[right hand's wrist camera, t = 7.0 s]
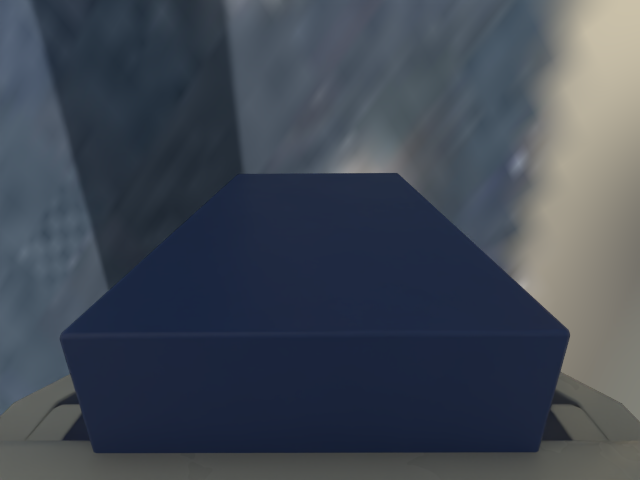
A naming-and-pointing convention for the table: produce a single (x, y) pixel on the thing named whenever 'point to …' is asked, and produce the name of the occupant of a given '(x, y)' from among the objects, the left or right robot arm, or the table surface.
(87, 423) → the box
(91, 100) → the table surface
